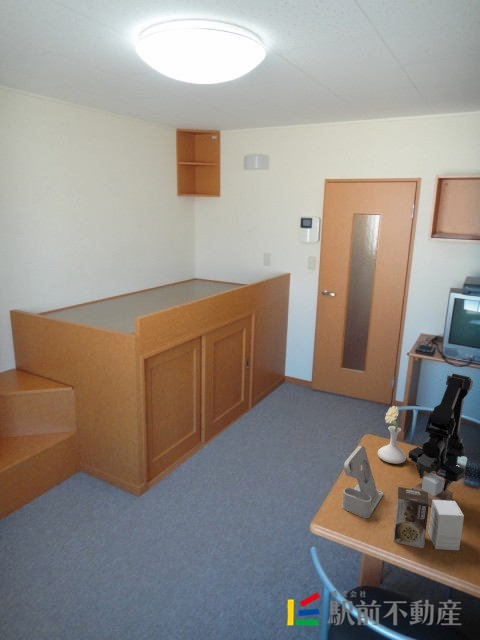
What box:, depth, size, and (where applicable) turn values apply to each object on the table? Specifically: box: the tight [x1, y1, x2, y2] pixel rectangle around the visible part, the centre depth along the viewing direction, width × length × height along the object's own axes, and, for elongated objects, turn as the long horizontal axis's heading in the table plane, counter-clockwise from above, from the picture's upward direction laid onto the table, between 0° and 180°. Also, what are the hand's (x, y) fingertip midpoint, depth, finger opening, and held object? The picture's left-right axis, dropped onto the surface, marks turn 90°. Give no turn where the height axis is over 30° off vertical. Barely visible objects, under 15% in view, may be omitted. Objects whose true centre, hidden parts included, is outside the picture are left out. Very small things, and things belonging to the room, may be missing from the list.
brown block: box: [411, 481, 454, 508], centre depth 163 cm, size 10×10×3 cm
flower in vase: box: [377, 405, 407, 465], centre depth 184 cm, size 13×11×25 cm
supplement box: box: [427, 500, 465, 551], centre depth 140 cm, size 7×7×13 cm
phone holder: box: [341, 445, 384, 519], centre depth 159 cm, size 17×10×18 cm, turn 145°
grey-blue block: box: [422, 472, 445, 496], centre depth 162 cm, size 5×5×5 cm
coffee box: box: [393, 486, 430, 549], centre depth 141 cm, size 9×6×16 cm
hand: (432, 484), depth 162 cm, fingers open, 9 cm apart
